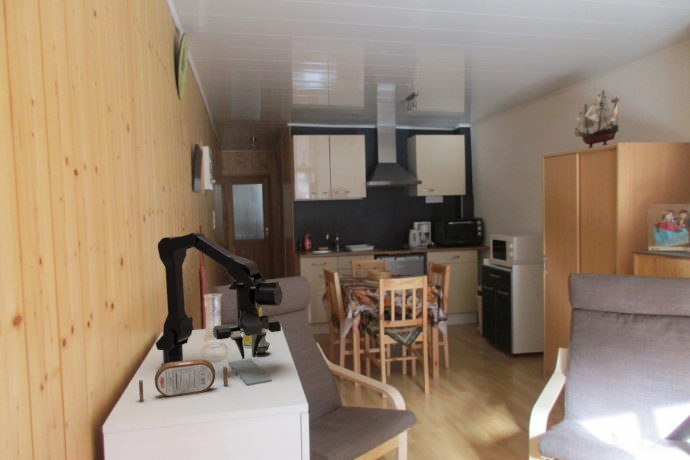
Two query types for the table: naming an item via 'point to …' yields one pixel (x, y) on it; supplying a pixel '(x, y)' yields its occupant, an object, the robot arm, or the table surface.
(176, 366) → the tin
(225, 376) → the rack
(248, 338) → the supplement bottle
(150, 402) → the table surface
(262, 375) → the mat
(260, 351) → the salt shaker
